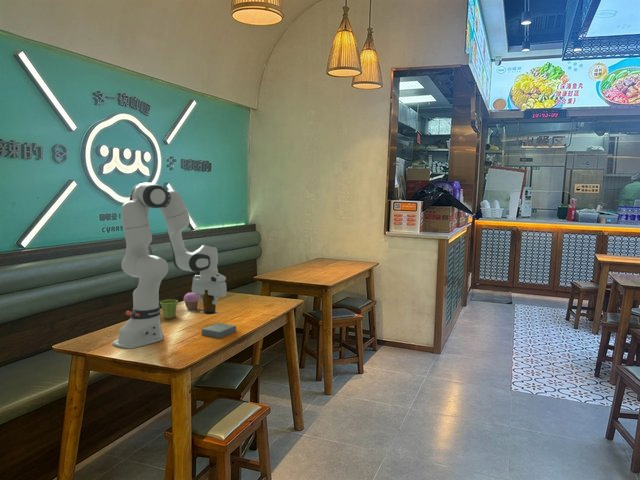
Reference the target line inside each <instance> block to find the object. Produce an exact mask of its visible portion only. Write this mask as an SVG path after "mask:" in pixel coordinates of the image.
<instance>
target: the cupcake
mask: <svg viewBox="0 0 640 480" xmlns="http://www.w3.org/2000/svg"><path fill="white" fill-rule="evenodd" d="M200 300H201V299H200V297H199V294H198V293H193V292H192V291H191V292H187V293H186V294H185V295H184V296H183V302H184V303H185V307H186V309H187V310H190V311H193V310H197V309H198V306H199V301H200Z"/></svg>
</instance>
